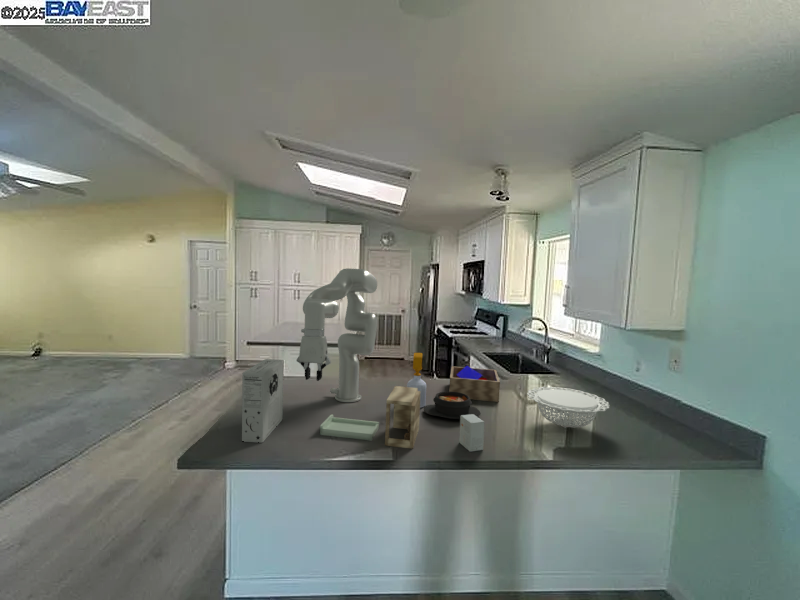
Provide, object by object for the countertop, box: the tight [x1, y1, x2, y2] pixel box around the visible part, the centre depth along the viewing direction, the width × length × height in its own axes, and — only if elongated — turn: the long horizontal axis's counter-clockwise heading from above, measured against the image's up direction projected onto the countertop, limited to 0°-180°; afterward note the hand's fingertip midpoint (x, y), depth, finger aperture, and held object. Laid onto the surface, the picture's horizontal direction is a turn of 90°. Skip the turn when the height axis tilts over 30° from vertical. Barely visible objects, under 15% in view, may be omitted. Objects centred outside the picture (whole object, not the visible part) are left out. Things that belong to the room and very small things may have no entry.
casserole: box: [423, 391, 481, 420], centre depth 173 cm, size 25×19×8 cm
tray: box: [319, 414, 380, 441], centre depth 151 cm, size 20×12×4 cm, turn 80°
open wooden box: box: [449, 365, 501, 403], centre depth 207 cm, size 24×24×10 cm
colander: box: [526, 386, 611, 428], centre depth 163 cm, size 32×32×13 cm
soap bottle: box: [406, 352, 427, 409], centre depth 183 cm, size 9×9×25 cm
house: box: [457, 365, 487, 380], centre depth 207 cm, size 12×20×12 cm, turn 13°
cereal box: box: [241, 358, 284, 444], centre depth 148 cm, size 22×8×25 cm, turn 178°
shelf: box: [384, 385, 421, 449], centre depth 148 cm, size 10×17×17 cm, turn 171°
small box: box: [458, 414, 485, 452], centre depth 142 cm, size 8×6×10 cm
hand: (313, 378), depth 153 cm, fingers open, 3 cm apart
